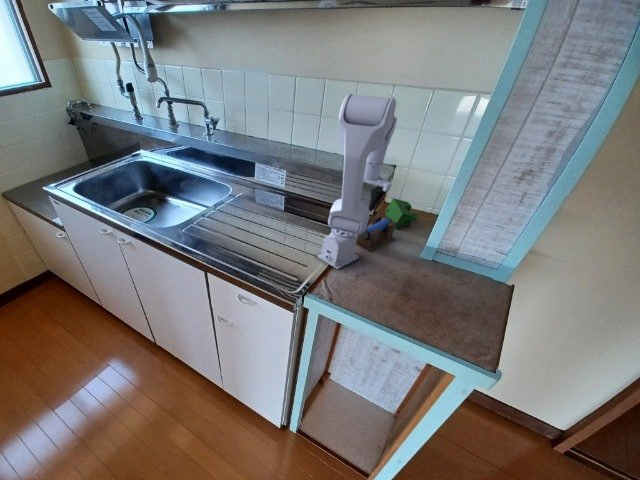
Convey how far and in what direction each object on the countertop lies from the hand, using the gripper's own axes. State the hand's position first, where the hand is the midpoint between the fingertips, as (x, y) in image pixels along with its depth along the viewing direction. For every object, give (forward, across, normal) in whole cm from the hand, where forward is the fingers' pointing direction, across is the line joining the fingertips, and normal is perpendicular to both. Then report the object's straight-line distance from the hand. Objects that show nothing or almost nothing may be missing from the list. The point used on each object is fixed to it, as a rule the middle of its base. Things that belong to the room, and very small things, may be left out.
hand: (361, 205), depth 101 cm
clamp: (+10, -5, -17) cm, 20 cm away
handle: (+6, -7, 0) cm, 9 cm away
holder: (+9, -7, 0) cm, 12 cm away
